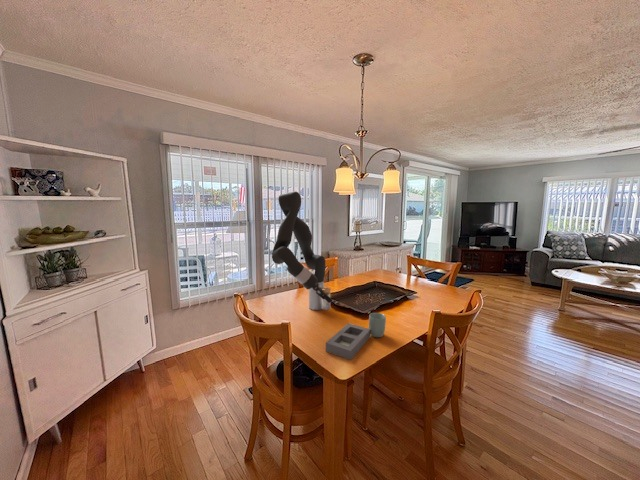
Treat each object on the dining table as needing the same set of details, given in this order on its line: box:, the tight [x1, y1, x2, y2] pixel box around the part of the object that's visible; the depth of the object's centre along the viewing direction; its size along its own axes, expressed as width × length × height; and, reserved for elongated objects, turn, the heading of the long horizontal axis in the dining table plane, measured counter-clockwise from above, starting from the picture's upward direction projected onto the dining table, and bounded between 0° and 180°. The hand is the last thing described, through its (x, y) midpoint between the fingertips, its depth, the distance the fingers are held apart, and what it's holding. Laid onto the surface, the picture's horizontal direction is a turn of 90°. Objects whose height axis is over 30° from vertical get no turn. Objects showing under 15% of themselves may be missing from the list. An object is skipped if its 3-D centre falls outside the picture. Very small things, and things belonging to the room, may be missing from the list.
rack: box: [325, 323, 371, 361], centre depth 118 cm, size 12×22×4 cm, turn 148°
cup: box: [368, 312, 387, 338], centre depth 125 cm, size 8×8×10 cm
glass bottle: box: [321, 286, 331, 311], centre depth 129 cm, size 4×4×11 cm
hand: (329, 299), depth 130 cm, fingers closed on glass bottle, 4 cm apart
